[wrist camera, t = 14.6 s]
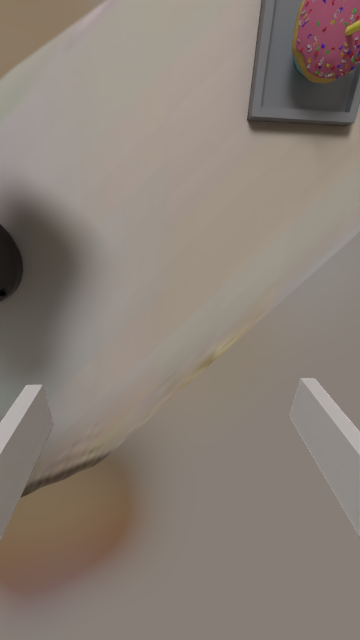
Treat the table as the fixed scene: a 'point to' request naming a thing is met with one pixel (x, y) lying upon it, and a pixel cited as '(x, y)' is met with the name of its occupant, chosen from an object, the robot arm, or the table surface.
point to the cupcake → (327, 39)
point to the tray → (294, 77)
